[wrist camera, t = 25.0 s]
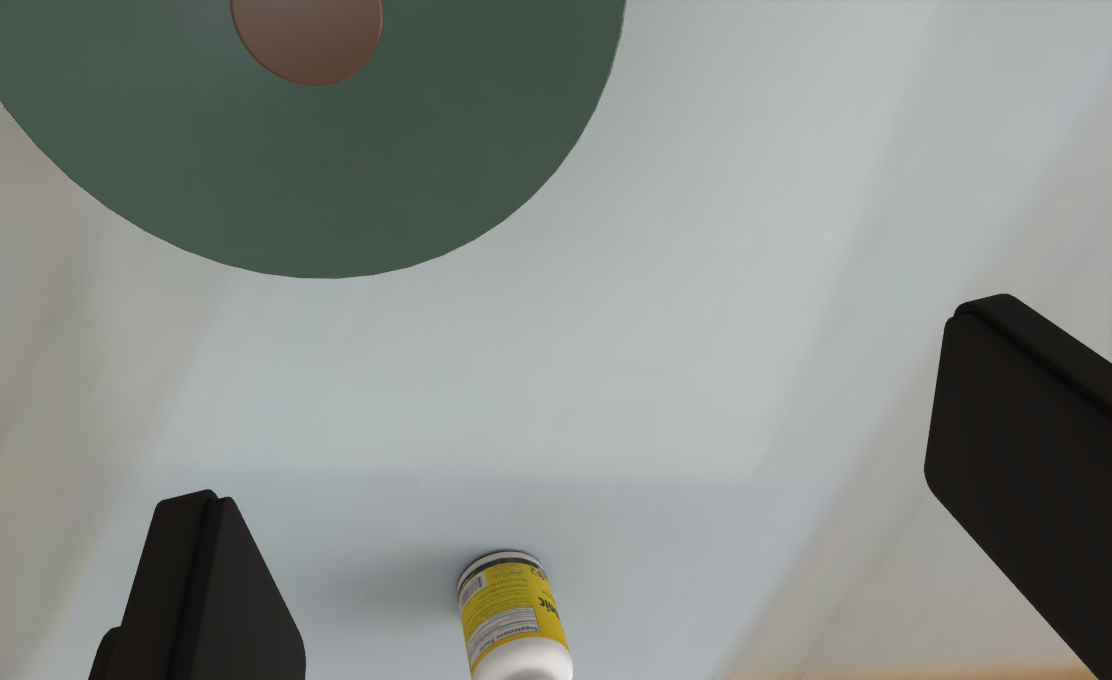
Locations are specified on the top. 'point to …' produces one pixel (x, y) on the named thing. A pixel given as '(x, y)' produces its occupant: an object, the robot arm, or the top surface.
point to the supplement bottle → (511, 621)
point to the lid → (308, 117)
